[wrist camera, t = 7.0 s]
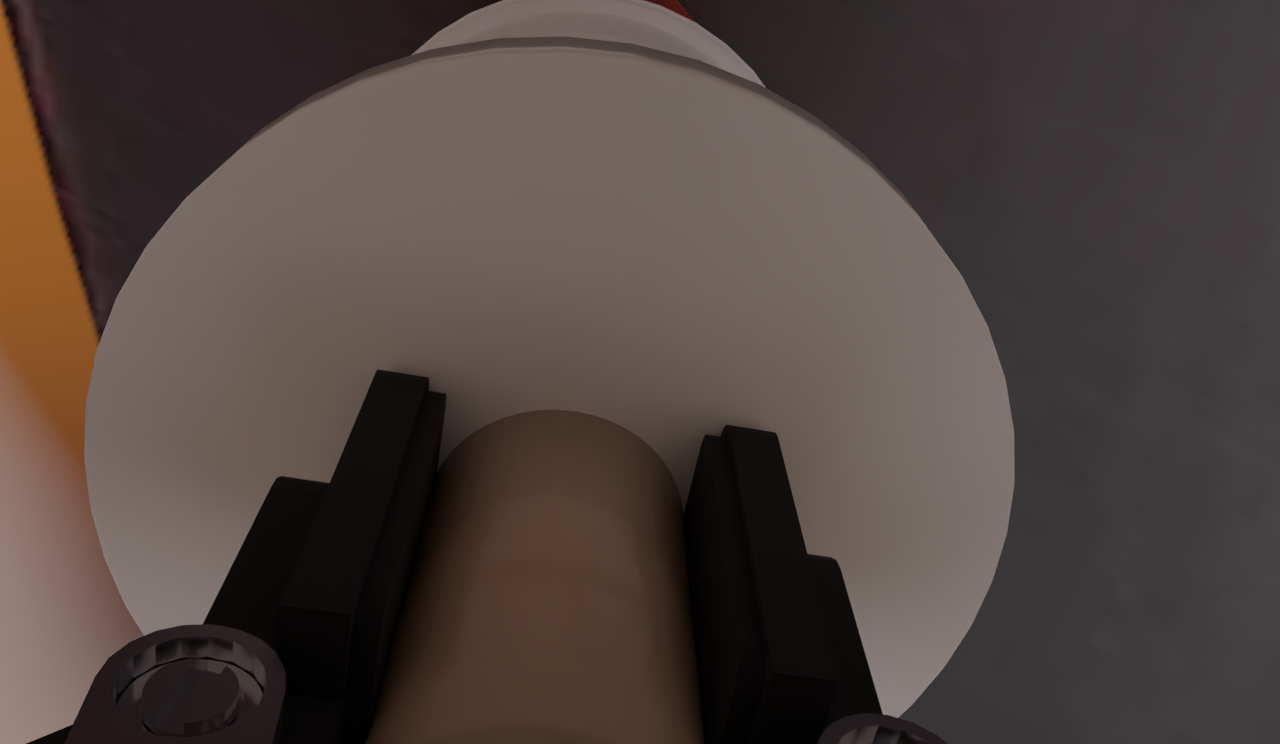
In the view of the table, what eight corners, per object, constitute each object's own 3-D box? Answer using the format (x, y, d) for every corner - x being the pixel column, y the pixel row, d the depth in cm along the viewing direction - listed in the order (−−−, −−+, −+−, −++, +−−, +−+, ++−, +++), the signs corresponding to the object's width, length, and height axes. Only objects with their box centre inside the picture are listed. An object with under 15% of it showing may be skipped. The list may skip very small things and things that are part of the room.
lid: (105, -50, 11) (-324, 84, 6) (1115, 128, 12) (1479, 373, 7) (130, 738, 15) (-102, 1192, 10) (861, 821, 16) (968, 1272, 11)
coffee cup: (401, 120, 33) (257, 339, 20) (530, -149, 30) (461, -102, 17) (650, 252, 35) (670, 531, 22) (795, 12, 32) (922, 168, 19)
